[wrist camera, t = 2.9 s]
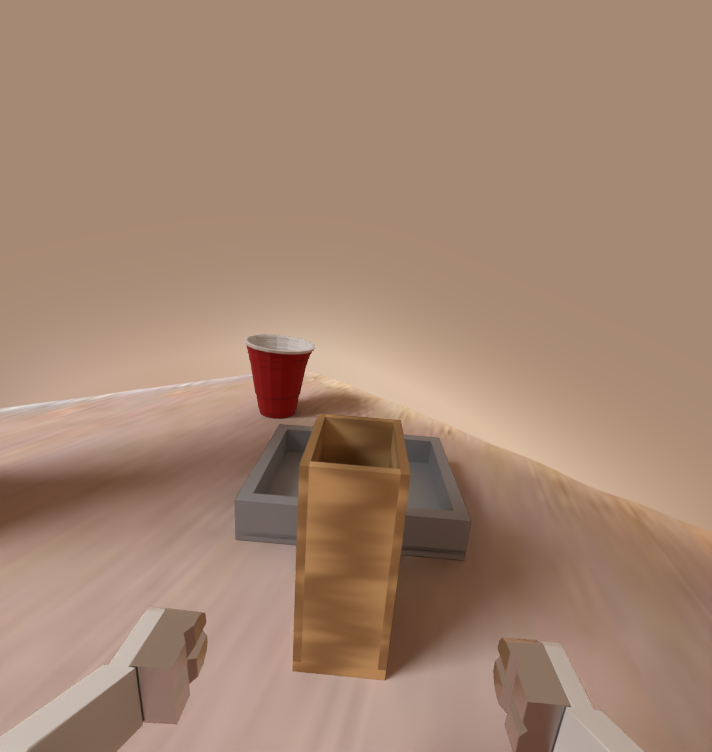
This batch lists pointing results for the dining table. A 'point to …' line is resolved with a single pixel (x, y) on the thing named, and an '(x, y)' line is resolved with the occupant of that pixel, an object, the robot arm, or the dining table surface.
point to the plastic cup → (278, 371)
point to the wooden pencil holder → (349, 544)
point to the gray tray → (424, 505)
